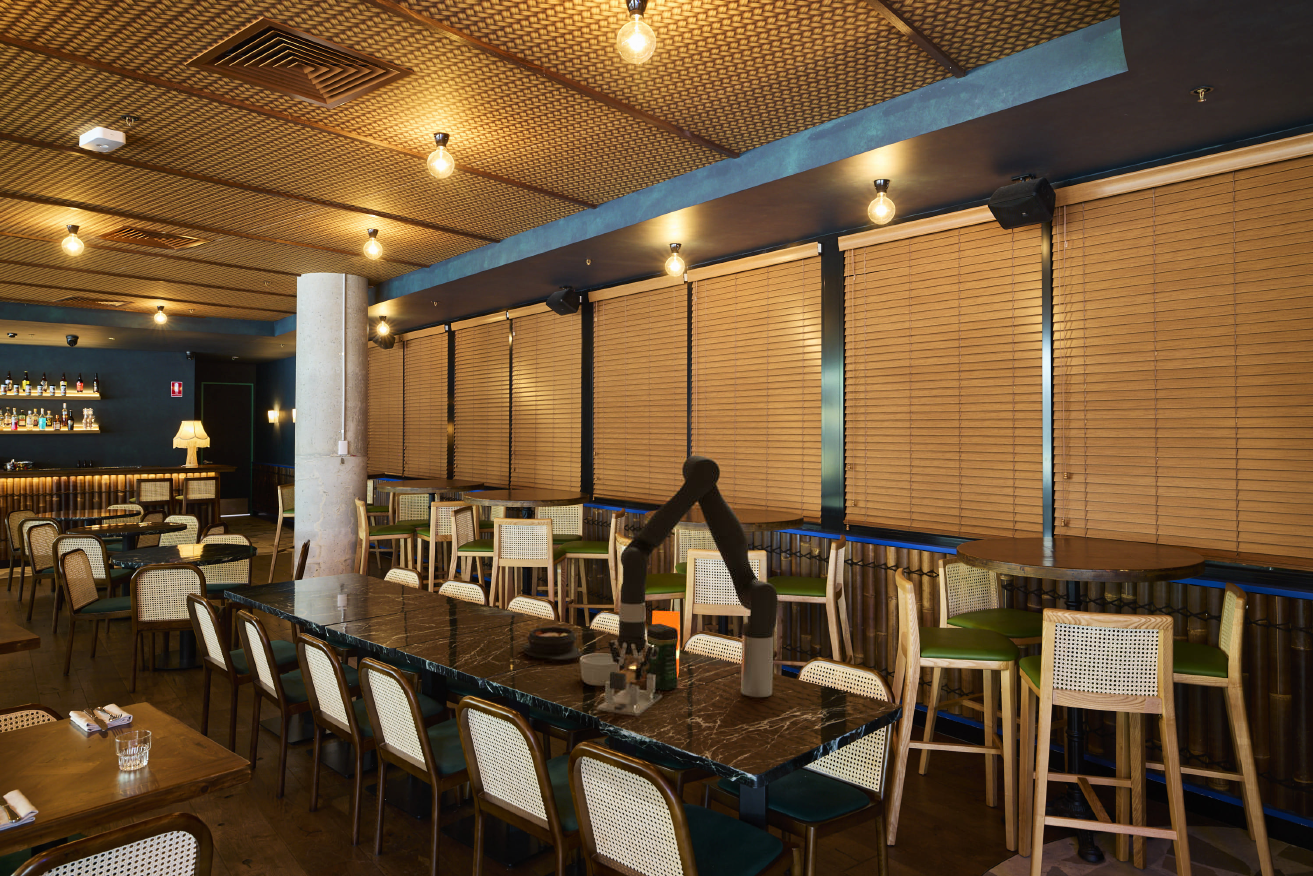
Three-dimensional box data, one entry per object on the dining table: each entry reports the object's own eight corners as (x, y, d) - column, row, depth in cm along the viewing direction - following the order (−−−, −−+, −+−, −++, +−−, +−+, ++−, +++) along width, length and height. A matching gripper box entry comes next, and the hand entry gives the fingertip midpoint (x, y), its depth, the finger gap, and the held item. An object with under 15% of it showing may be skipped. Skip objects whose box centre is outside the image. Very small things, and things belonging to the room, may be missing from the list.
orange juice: (678, 677, 249) (679, 614, 249) (650, 676, 249) (651, 613, 250) (678, 670, 257) (680, 609, 257) (651, 669, 257) (653, 608, 258)
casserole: (508, 653, 274) (509, 628, 275) (552, 644, 287) (552, 621, 287) (550, 668, 256) (551, 642, 256) (595, 659, 269) (596, 634, 269)
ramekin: (627, 677, 248) (628, 655, 248) (614, 689, 236) (614, 666, 236) (588, 673, 252) (588, 651, 252) (572, 684, 239) (573, 661, 239)
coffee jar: (681, 688, 238) (683, 626, 238) (660, 692, 233) (662, 629, 233) (662, 680, 246) (663, 620, 246) (641, 684, 241) (642, 623, 241)
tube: (636, 671, 232) (637, 657, 232) (649, 672, 230) (650, 658, 230) (609, 688, 214) (609, 673, 214) (623, 690, 213) (623, 675, 213)
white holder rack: (624, 691, 233) (624, 667, 233) (661, 697, 229) (662, 673, 229) (597, 709, 216) (597, 684, 217) (637, 716, 212) (637, 689, 212)
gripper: (660, 618, 224) (659, 679, 223) (615, 613, 229) (613, 672, 229) (650, 623, 217) (649, 686, 216) (603, 618, 222) (602, 679, 222)
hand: (630, 678), depth 223 cm, fingers closed on tube, 4 cm apart
